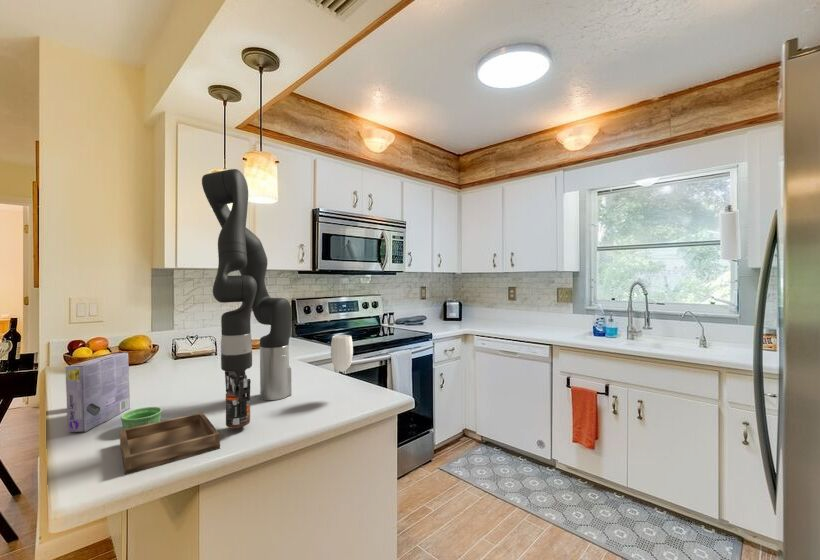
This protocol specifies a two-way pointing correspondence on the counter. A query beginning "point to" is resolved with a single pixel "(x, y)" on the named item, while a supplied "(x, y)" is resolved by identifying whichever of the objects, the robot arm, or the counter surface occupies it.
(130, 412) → the ramekin
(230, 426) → the supplement bottle
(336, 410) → the counter surface
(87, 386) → the cake pan box
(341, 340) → the cup
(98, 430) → the counter surface
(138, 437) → the walnut tray
